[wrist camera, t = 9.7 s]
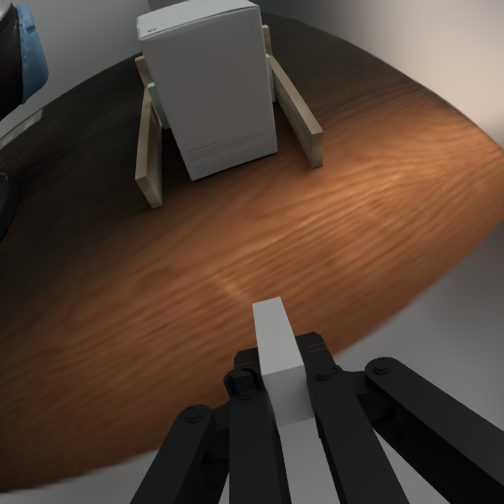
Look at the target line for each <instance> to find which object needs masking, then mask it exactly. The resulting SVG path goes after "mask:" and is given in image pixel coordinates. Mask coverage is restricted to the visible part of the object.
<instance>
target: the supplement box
mask: <svg viewBox="0 0 504 504" xmlns="http://www.w3.org/2000/svg"><path fill="white" fill-rule="evenodd" d="M137 30H138V40H139V43H140V46H141V49H142V52H143V55H144V57H145V60H146V63H147V66H148V68H149V71H150V74H151V77H152V79H153V82H154V85H155V87H156V90H157V93H158V95H159V98H160V101H161V103H162V106H163V109H164V111H165V114H166V116H167V119H168V122H169V124H170V127H171V130H172V132H173V135H174V137H175V140H176V142H177V145H178V147H179V150H180V153H181V155H182V158H183V160H184V163H185V165H186V168H187V170H188V173H189V175H190V178H191V180H192V181H194V180H196V179H199V178H202V177H205V176H207V175H210V174H213V173H216V172H218V171H221V170H224V169H227V168H230V167H233V166H236V165H239V164H242V163H245V162H248V161H251V160H254V159H257V158H260V157H263V156H266V155H269V154H273V153H276V152H277V151H278V149H277V140H276V131H275V123H274V114H273V106H272V97H271V89H270V81H269V73H268V65H267V57H266V50H265V42H264V35H263V29H262V22H261V15H260V10H259V6H258V5H255V4H253V3H251V2H249V1H247V0H189V1H185V2H182V3H178V4H175V5H171V6H168V7H165V8H162V9H159V10H156V11H153V12H150V13H147V14H145V15H142V16H140V17H138V18H137Z"/></svg>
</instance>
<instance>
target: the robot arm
mask: <svg viewBox="0 0 504 504" xmlns="http://www.w3.org/2000/svg"><path fill="white" fill-rule="evenodd" d="M48 74H49V72H48V66H47V62H46V59H45V56H44V52H43V49H42V46H41V43H40V39H39V36H38V34H37V31H36V27H35V25H34V21H33V18H32V14H31V12H30V9H29V7H28V5H27V3H22V4H17V5H16V6H15V8H14V6H13V4H12V2H11V0H0V121H1V120H2V119H3V118H5V117H6V116H7V115H8V114H9V113H11V112H12V111H13V110H14V109H15V108H17V107H18V106H19V105H20V104H22V105H23V104H24V103H25V102H26V100H27V99H28V98H29V97H31V96H32V95H33V94H34V93H36V92H37V91H38V90H39V89H41V88H42V87H43V86H44V85H45V83H46V81H47V79H48ZM18 198H19V190H18V187H17V185H16V184H15V183H14V182H13V180H12V179H11V178H10V177H9V176H8V175H6V174H5V173H0V240H1V238H2V236H3V235H4V233H5V231H6V230H7V228H8V226H9V224H10V222H11V220H12V218H13V215H14V213H15V210H16V207H17V203H18ZM253 312H254V320H255V328H256V336H257V344H258V347H256V348H251V349H247V350H243V351H239V352H238V353H237V355H236V356H235V358H234V369H233V370H231V371H230V372H228V373H227V374H226V375H225V377H224V380H223V381H224V384H225V386H226V389H227V392H228V394H229V397H230V400H229V401H228V402H227V403H226V404H224V405H222V406H220V407H218V408H215V409H213V410H211V409H210V408H209V407H208V406H206V405H201V404H199V405H192V406H190V407H187V408H186V409H184V410H183V411H181V412H180V414H179V415H178V416H177V418H176V420H175V422H174V424H173V426H172V428H171V429H170V431H169V433H168V435H167V437H166V439H165V440H164V442H163V444H162V446H161V448H160V450H159V451H158V453H157V455H156V457H155V459H154V461H153V462H152V465H151V466H150V468H149V470H148V472H147V473H146V475H145V477H144V479H143V481H142V483H141V484H140V486H139V488H138V490H137V491H136V493H135V495H134V497H133V499H132V501H131V502H130V504H218V503H219V500H220V497H221V494H222V491H223V488H224V485H225V482H226V479H227V476H228V473H229V504H292V503H291V497H290V491H289V487H288V480H287V474H286V469H285V463H284V457H283V451H282V446H281V441H280V435H279V432H278V429H277V427H278V426H283V425H287V424H291V423H295V422H299V421H303V420H307V419H310V418H314V417H315V420H316V425H317V430H318V435H319V438H320V439H321V442H322V445H323V448H324V452H325V455H326V458H327V462H328V464H329V468H330V471H331V474H332V478H333V481H334V485H335V488H336V491H337V494H338V498H339V501H340V504H409V502H408V500H407V497H406V495H405V493H404V491H403V489H402V487H401V485H400V483H399V481H398V479H397V477H396V475H395V473H394V471H393V469H392V466H391V464H390V462H389V460H388V458H387V456H386V454H385V452H384V451H383V448H382V446H381V444H380V442H379V440H378V438H377V436H376V434H375V432H374V430H375V431H376V432H377V433H378V434H379V435H380V436H381V437H382V438H383V439H384V440H385V441H386V442H387V443H388V444H389V445H390V446H391V447H392V448H393V449H394V450H395V451H396V452H397V453H398V454H399V455H400V456H402V458H403V459H404V460H405V461H406V462H407V463H409V465H410V466H411V467H413V468H414V469H415V470H416V471H417V472H418V473H419V474H420V475H421V476H422V477H423V478H424V479H425V480H426V481H427V482H428V483H429V484H430V485H431V486H432V487H433V488H435V489H436V490H437V491H438V492H439V493H440V494H441V495H442V496H443V497H444V498H445V499H446V500H447V501H448V502H449V503H450V504H504V431H502V430H501V429H499V428H498V427H496V426H494V425H493V424H492V423H490V422H488V421H487V420H486V419H484V418H482V417H481V416H480V415H478V414H476V413H475V412H474V411H472V410H471V409H469V408H468V407H466V406H465V405H463V404H462V403H460V402H459V401H457V400H456V399H454V398H453V397H451V396H450V395H448V394H447V393H445V392H444V391H442V390H441V389H439V388H438V387H436V386H435V385H433V384H432V383H430V382H429V381H427V380H426V379H424V378H423V377H422V376H420V375H419V374H417V373H416V372H414V371H413V370H411V369H410V368H408V367H407V366H405V365H404V364H402V363H401V362H399V361H398V360H396V359H394V358H391V357H381V358H377V359H374V360H372V361H370V362H369V363H368V364H367V365H366V367H365V371H358V372H348V371H344V370H342V368H341V367H340V366H338V365H336V364H335V362H334V360H333V358H332V356H331V354H330V352H329V350H328V348H327V346H326V344H325V343H324V340H323V338H322V337H321V335H319V334H317V333H316V332H311V333H307V334H304V335H300V336H296V337H294V335H293V332H292V329H291V327H290V324H289V321H288V318H287V315H286V312H285V310H284V307H283V304H282V301H281V298H280V297H277V298H273V299H269V300H265V301H261V302H258V303H254V304H253ZM373 429H374V430H373Z"/></svg>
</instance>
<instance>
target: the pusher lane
mask: <svg viewBox="0 0 504 504" xmlns="http://www.w3.org/2000/svg"><path fill="white" fill-rule="evenodd" d="M262 29H263V35H264V42H265V50H266V54H268V55H269V56H270V61H271V69H272V77H273V86H274V94H275V97H276V98H277V100H278V102H279V104H280V106H281V108H282V109H283V111H284V113H285V115H286V117H287V119H288V121H289V123H290V125H291V127H292V128H293V130H294V132H295V134H296V136H297V138H298V140H299V142H300V144H301V146H302V148H303V150H304V152H305V154H306V156H307V158H308V160H309V162H310V164H311V166H312V168H314V167H318V166H322V163H323V131H322V129H321V127H320V126H319V124H318V122H317V121H316V119H315V118H314V116H313V114H312V113H311V111H310V110H309V108H308V107H307V105H306V104H305V102H304V101H303V99H302V97H301V96H300V94H299V93H298V91H297V90H296V88H295V87H294V86H293V84H292V83H291V81H290V80H289V78H288V77H287V75H286V74H285V72H284V71H283V70H282V68H281V67H280V65H279V64H278V63H277V61H276V60H275V58H274V57H273V56H272V50H271V42H270V35H269V27H268V26H267V25H262ZM135 63H136V66H137V68H138V71H139V73H140V76H141V78H142V81H143V83H144V86H145V92H144V99H143V106H142V114H141V122H140V131H139V140H138V151H137V162H136V176H135V180H136V182H137V183H138V185H139V187H140V188H141V190H142V192H143V194H144V195H145V197H146V199H147V200H148V202H149V204H150V205H151V207H152V208H156V207H159V206H162V123H161V121H160V118H159V116H158V113H157V111H156V108H155V106H154V103H153V101H152V99H151V96H150V94H149V91H148V89H147V87H148V84H150V83H153V79H152V77H151V74H150V71H149V68H148V66H147V63H146V60H145V57H144V55H143V56H140V57H137V58H136V59H135Z"/></svg>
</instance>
